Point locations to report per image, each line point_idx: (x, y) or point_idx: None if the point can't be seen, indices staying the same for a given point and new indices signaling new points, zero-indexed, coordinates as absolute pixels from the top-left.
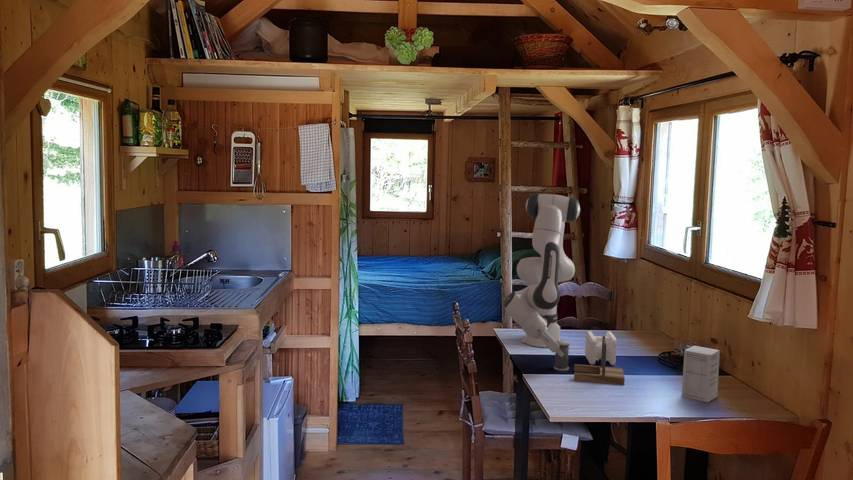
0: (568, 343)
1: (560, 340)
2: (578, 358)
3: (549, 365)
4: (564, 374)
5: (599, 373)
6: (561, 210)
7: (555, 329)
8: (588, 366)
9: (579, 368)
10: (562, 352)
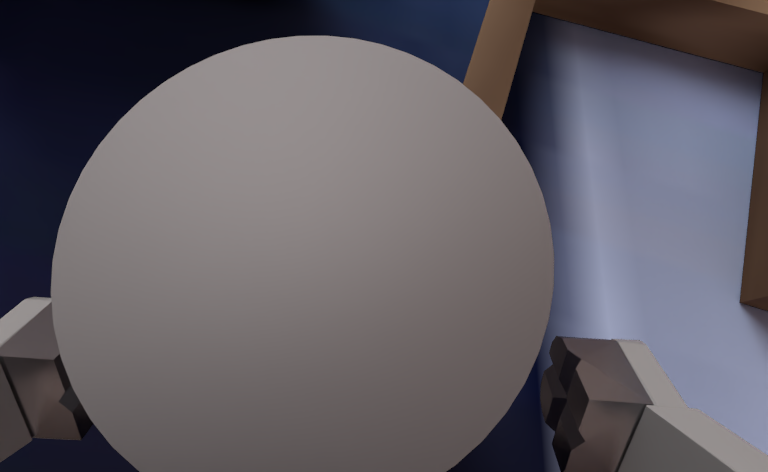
0: (462, 105)
1: (80, 241)
2: (8, 38)
3: None
4: None
5: (557, 10)
6: None
7: None
8: (518, 52)
9: None
10: (663, 378)
